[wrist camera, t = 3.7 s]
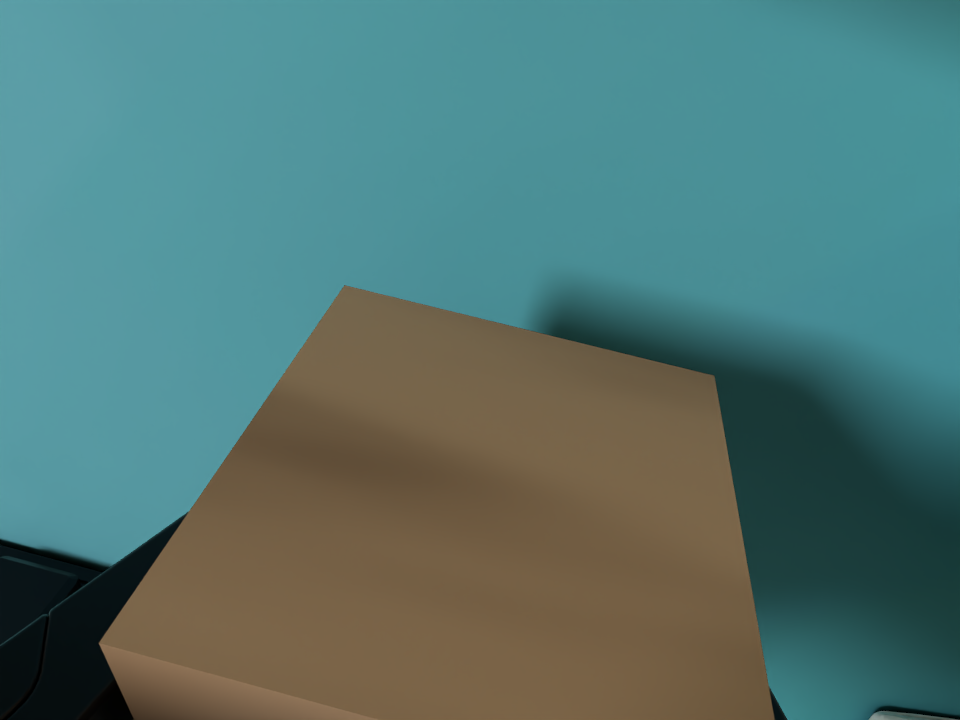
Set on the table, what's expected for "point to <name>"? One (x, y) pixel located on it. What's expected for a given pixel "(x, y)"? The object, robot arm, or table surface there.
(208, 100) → the table surface
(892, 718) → the skincare box
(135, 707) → the walnut cube
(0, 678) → the robot arm
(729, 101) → the table surface
